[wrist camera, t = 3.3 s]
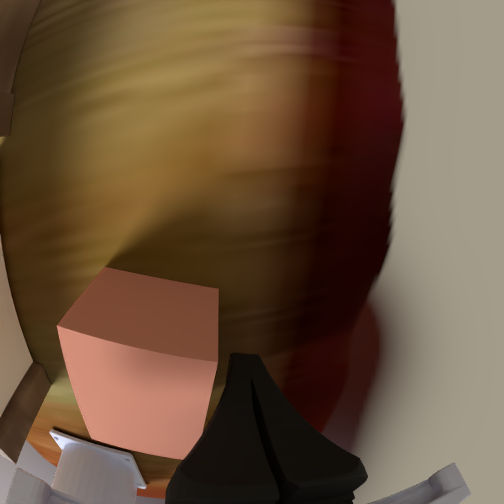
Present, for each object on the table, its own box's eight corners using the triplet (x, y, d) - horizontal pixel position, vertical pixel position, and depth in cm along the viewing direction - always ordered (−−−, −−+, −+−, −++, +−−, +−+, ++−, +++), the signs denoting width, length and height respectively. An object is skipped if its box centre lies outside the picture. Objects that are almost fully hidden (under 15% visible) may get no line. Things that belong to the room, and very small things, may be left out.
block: (198, 393, 14) (196, 461, 10) (113, 376, 13) (91, 438, 9) (218, 287, 11) (218, 362, 7) (105, 265, 11) (56, 325, 6)
